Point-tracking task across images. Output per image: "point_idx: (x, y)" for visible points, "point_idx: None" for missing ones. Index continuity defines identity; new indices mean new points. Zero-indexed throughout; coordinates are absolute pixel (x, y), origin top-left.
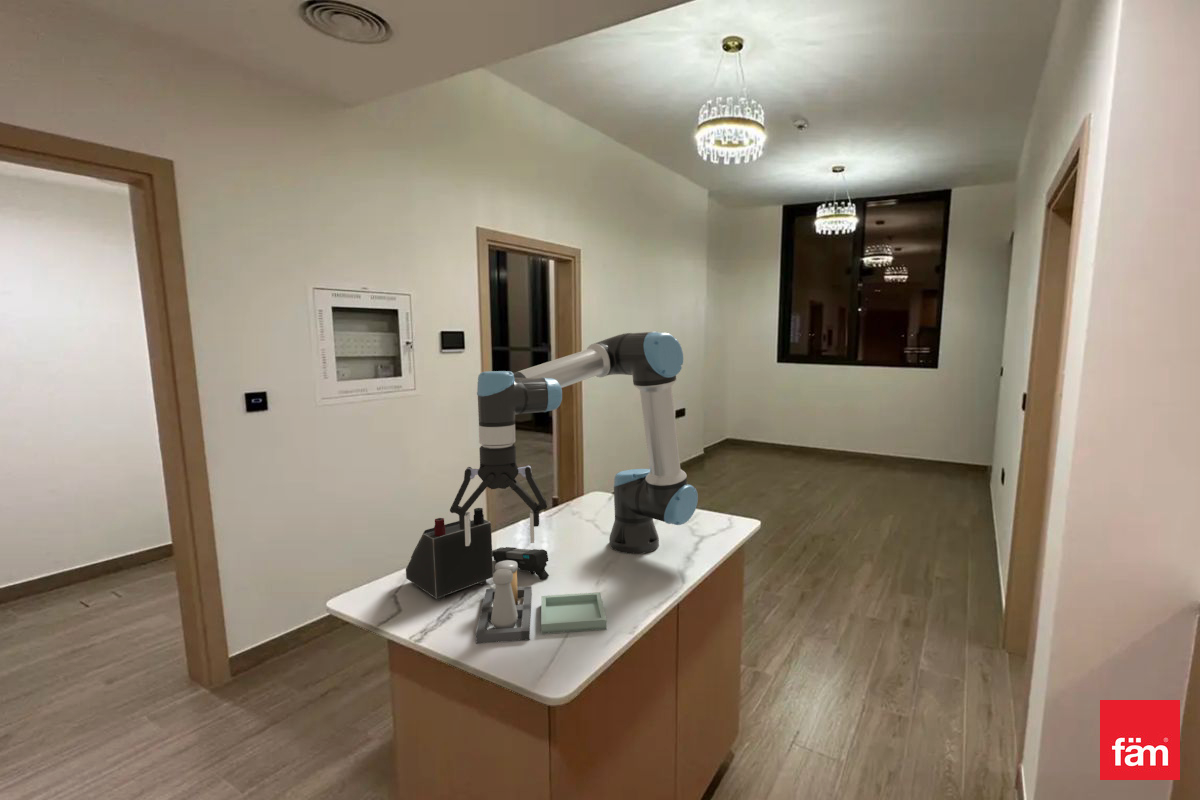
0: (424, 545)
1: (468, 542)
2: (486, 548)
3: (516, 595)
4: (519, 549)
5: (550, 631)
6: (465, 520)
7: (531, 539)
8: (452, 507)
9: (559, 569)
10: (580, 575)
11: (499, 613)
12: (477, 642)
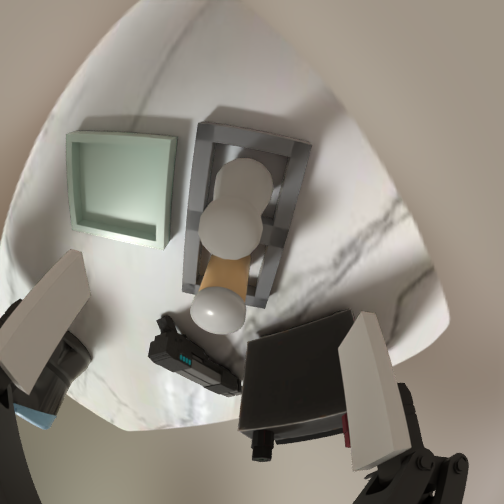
0: None
1: (366, 323)
2: (253, 385)
3: (210, 260)
4: (198, 381)
5: (159, 135)
6: (402, 424)
7: (68, 259)
8: (461, 478)
9: (144, 332)
10: (113, 306)
11: (255, 171)
12: (306, 141)
